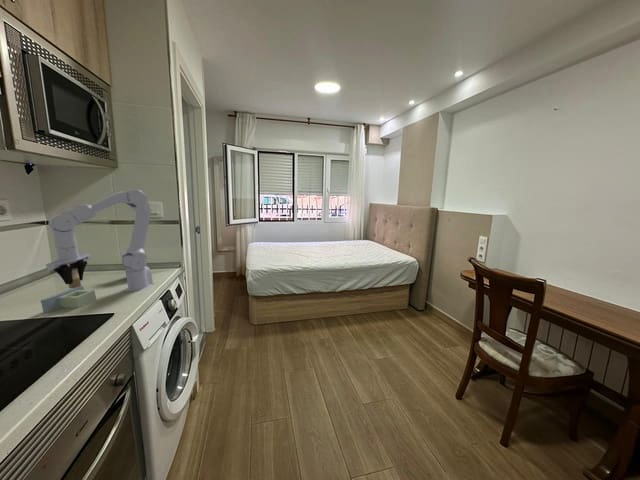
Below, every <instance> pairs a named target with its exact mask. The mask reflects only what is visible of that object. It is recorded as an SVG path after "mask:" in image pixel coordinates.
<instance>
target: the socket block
mask: <svg viewBox="0 0 640 480" xmlns="http://www.w3.org/2000/svg"><path fill="white" fill-rule="evenodd" d="M94 301H97V296H96V291H95V289H94V290H91V289H89V290H88V289H85V290H77V291H74V292H72V293H69V294H66V295H64V296H61V297H59V302H60V306H61V308H64V309H67V308H69V309H70V308H71V309H73V308H74V309H78V308H81V307H83V306H85V305H87V304H90V303H92V302H94ZM61 308H60V309H61Z"/></svg>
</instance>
